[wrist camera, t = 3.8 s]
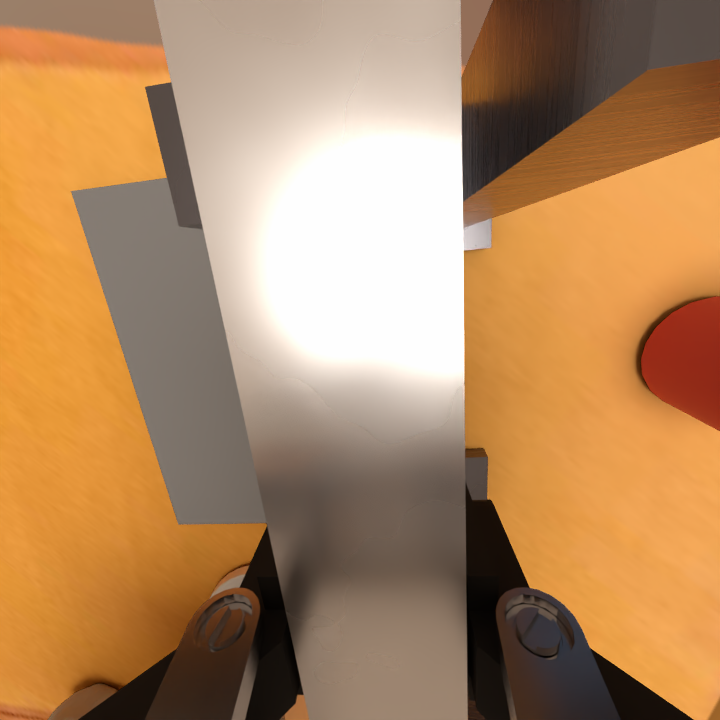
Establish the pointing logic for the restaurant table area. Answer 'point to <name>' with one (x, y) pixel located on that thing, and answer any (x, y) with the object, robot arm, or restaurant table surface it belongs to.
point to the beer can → (687, 360)
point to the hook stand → (549, 111)
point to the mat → (174, 348)
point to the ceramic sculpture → (82, 702)
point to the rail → (343, 321)
